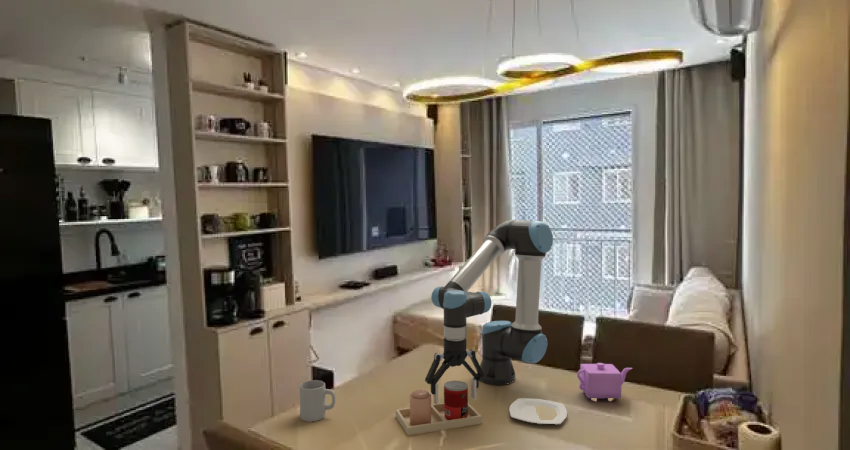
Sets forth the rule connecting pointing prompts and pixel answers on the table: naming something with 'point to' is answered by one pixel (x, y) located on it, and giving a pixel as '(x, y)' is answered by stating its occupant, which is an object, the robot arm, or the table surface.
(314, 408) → the mug
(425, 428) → the divided tray
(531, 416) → the plate
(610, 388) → the teapot
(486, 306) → the robot arm
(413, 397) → the jar
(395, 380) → the table surface
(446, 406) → the canned food
